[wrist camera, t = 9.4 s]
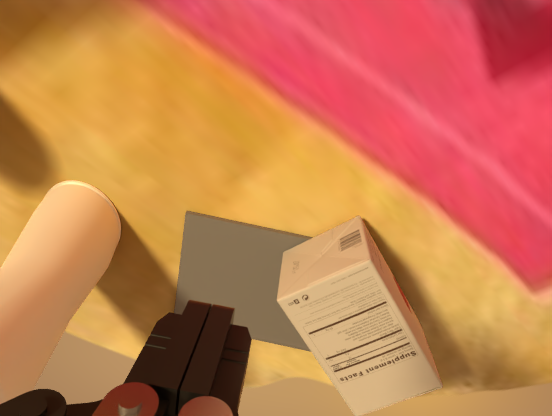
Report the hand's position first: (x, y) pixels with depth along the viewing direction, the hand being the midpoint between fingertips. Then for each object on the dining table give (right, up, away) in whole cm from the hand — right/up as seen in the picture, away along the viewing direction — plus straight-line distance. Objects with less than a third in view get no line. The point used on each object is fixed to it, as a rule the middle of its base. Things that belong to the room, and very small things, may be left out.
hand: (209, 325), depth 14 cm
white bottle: (-18, +1, +32) cm, 37 cm away
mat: (+2, -5, +33) cm, 33 cm away
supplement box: (+6, 0, +24) cm, 25 cm away
